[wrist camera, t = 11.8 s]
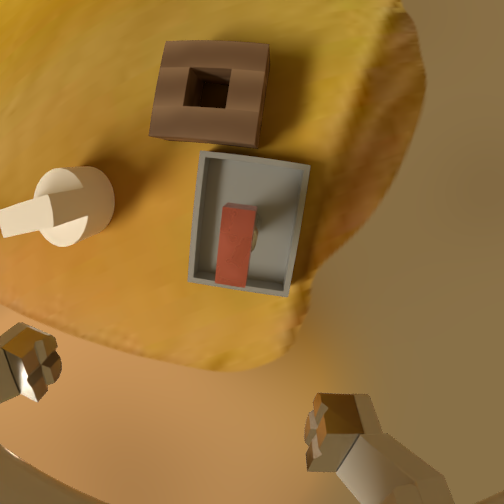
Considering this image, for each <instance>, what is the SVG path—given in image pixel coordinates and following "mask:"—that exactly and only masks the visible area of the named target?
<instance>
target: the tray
mask: <svg viewBox="0 0 504 504" xmlns="http://www.w3.org/2000/svg"><path fill="white" fill-rule="evenodd" d="M310 167H311V165H306V164H300V163H294V162H288V161H281V160H275V159H268V158H260V157H253V156H245V155H237V154H228V153H219V152H209V151H200V157H199V165H198V173H197V182H196V191H195V200H194V210H193V220H192V231H191V243H190V256H189V270H188V282H193V283H199V284H205V285H211V286H217V287H223V288H229V289H235V290H242V291H248V292H255V293H262V294H268V295H275V296H282V297H288V294H289V289H290V284H291V279H292V273H293V268H294V263H295V257H296V252H297V246H298V240H299V235H300V229H301V223H302V217H303V211H304V205H305V199H306V193H307V186H308V180H309V173H310ZM228 202H229V203H237V204H244V205H252V206H258V207H257V213H258V214H259V216H260V219H261V225H260V229H259V234H258V238H257V242H256V246H255V248H254V250H253V251H252V253H251V258H250V265H249V273H248V278H247V283H246V287H245V288H242V287H236V286H229V285H223V284H217V283H215V275H216V264H217V254H218V245H219V235H220V226H221V217H222V208H223V206H224V205H225V204H226V203H228Z"/></svg>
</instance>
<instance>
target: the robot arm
mask: <svg viewBox="0 0 504 504" xmlns="http://www.w3.org/2000/svg"><path fill="white" fill-rule="evenodd" d="M56 348H57V342H56V339H55V337H53V336H52V335H50V334H48V333H46V332H43V331H41V330H38V329H36V328H34V327H32V326H29V325H27V324H25V323H17V324H16V325H14V326H13V327H12V328H10V329H9V330H8V331H6V332H5V333H4V334H2V335H1V336H0V403H2V402H4V401H7V400H9V399H11V398H13V397H16V396H18V395H20V394H22V395H24V396H26V397H28V398H30V399H32V400H34V401H36V402H39V400H40V399H41V398H42V397H43V396H44V394H45V393H46V392H47V391H48V385H50V384H53V383H55V382H56V381H57V379H58V378H59V376H60V373H61V370H62V363H61V359H60V356H59V355H58V354H57V352H56ZM313 406H314V410H312V411H311V412H309V414H308V417H307V420H306V424H305V436H304V437H305V443H306V444H307V445H308V446H309V448H308V450H307V452H306V463H307V471H310V472H336V474H337V475H338V477H339V478H340V479H341V480H342V482H343V483H344V484H345V485H346V486H347V488H348V489H349V490H350V491H351V492H352V494H353V495H354V496H355V497H356V498H357V500H358V501H359V502H360V503H361V504H455V503H454V501H453V498H452V495H451V493H450V490H449V488H448V485H447V483H446V480H445V478H444V476H443V475H442V474H440V473H439V472H438V471H436V470H435V469H434V468H433V467H431V466H430V465H428V464H427V463H426V462H424V461H423V460H422V459H421V458H419V457H418V456H417V455H415V454H414V453H412V452H411V451H410V450H409V449H407V448H406V447H405V446H403V445H402V444H401V443H399V442H398V441H397V440H395V439H394V438H393V437H392V436H391V435H389V434H388V433H383V432H382V429H381V426H380V423H379V420H378V418H377V415H376V412H375V409H374V406H373V403H372V401H371V398H370V396H369V395H368V394H332V393H317V394H316V396H315V398H314V401H313ZM0 504H109V503H106V502H103V501H101V500H99V499H97V498H94V497H92V496H90V495H87V494H85V493H83V492H81V491H79V490H77V489H74V488H72V487H70V486H68V485H66V484H64V483H63V482H61V481H59V480H57V479H55V478H53V477H51V476H49V475H48V474H46V473H44V472H42V471H41V470H39V469H37V468H36V467H34V466H32V465H31V464H29V463H27V462H26V461H24V460H23V459H21V458H20V457H18V456H17V455H15V454H14V453H12V452H11V451H9V450H8V449H6V448H5V447H4V446H2V445H1V444H0ZM474 504H504V490H503V491H501V492H499V493H496V494H494V495H492V496H490V497H488V498H486V499H483V500H481V501H479V502H476V503H474Z"/></svg>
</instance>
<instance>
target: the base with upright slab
mask: <svg viewBox="0 0 504 504" xmlns="http://www.w3.org/2000/svg"><path fill="white" fill-rule="evenodd" d="M114 206H115V198H114V192H113V188H112V185H111V183H110V181H109V179H108V178H107V176H106V175H105V174H104V173H103V172H102V171H100V170H99V169H97V168H95V167H91V166H82V167H67V168H57V169H52V170H50V171H49V172H47V173H46V174H45V175H44V176H43V177H42V178H41V179H40V181H39V183H38V185H37V187H36V190H35V194H34V199H31V200H28V201H25V202H22V203H19V204H16V205H13V206H10V207H7V208H4V209H1V210H0V227H1V231H2V235H3V237H4V238H6V237H10V236H14V235H19V234H23V233H28V232H33V231H37V230H40V232H41V233H42V235H43V236H44V237H45V239H47V240H48V241H49V242H50V243H52V244H54V245H56V246H60V247H67V246H69V245H72V244H75V243H77V242H79V241H81V240H84V239H86V238H88V237H90V236H93V235H95V234H97V233H99V232H101V231H102V230H103V229H105V228H106V226H107V225H108V224H109V222H110V220H111V218H112V215H113V212H114Z"/></svg>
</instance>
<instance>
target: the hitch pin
mask: <svg viewBox="0 0 504 504" xmlns="http://www.w3.org/2000/svg"><path fill="white" fill-rule="evenodd" d="M257 207H258V206H252V205H244V204H237V203H229V202H228V203H226V204H225V205H224V206H223V208H222V217H221V226H220V235H219V245H218V254H217V264H216V275H215V283H217V284H223V285H229V286H236V287H242V288H245V287H246V283H247V278H248V273H249V265H250V258H251V253H252V251H253V250H254V248H255V246H256V242H257V238H258V234H259V229H260V225H261V219H260V216H259V214H258V213H257Z"/></svg>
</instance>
